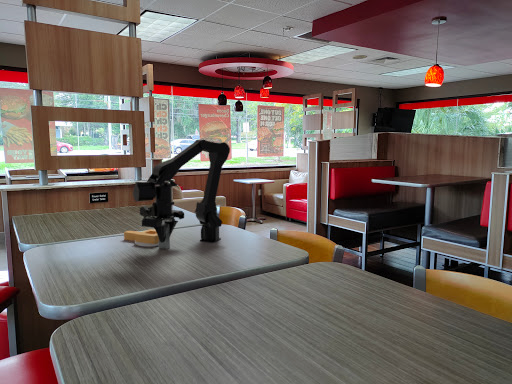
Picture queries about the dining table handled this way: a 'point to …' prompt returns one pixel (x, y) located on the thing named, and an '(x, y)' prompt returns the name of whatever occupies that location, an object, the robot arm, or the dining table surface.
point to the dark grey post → (167, 239)
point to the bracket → (143, 237)
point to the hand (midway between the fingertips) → (164, 241)
